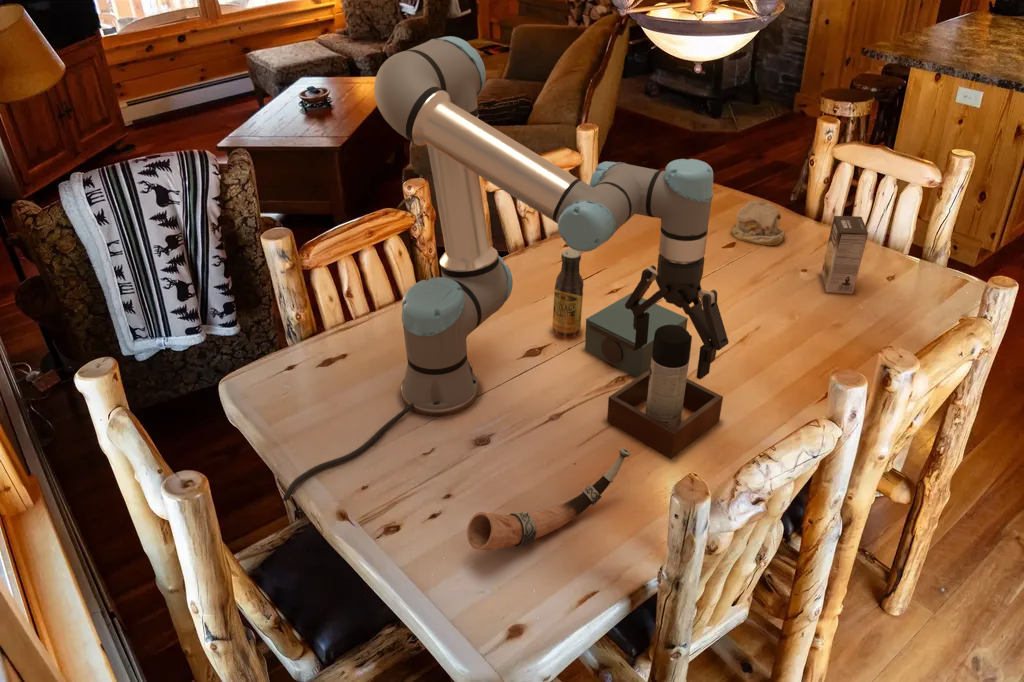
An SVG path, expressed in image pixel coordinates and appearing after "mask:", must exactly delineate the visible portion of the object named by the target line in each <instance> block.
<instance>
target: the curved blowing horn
mask: <svg viewBox="0 0 1024 682" xmlns="http://www.w3.org/2000/svg"><path fill="white" fill-rule="evenodd" d="M618 452H619V456H618V458H617V459H616V460H615V462H614V463H613V464H612V465H611V466H610V468H609V469H608V470H607V471H606V472H604V473H602V476H601V477H600V478H599V479H598V480H597V481H596V482H595V483H593V484H588V486H586V487H585V488H584V489H583V490H581V493H580V494H578V495H577V496H575V497H573V498H572V499H570V500H568V501H566V502H563V503H561V504H558V505H556V506H554V507H551V508H548V509H544V510H541V511H536V512H531V513H529V512H526V511H525V512H524V511H521V512H511V513H510V514H496V513H490V512H485V511H479V512H476V513H475V514H474V515H473V516H472V517H471V518H470V520H469V522H468V525H467V528H466V529H467V530H466V536H467V541H468V543H469V546H470V547H471V548H472V549H474V550H477V551H493V550H499V549H504V548H509V547H516V548H517V547H518V548H519V547H522V546H525V545H528V544H531V543H532V542H534V541H535V540H536V539H538V538H540V537H543V536H545V535H547V534H550V533H552V532H554V531H555V530H558V529H559V528H561V527H563V526H565V525H567V524H568V523H569V522H571V521H573V520H574V519H576V517H578V516H580V515H581V514H582V513H583V512H585V511H586V510H587V509H589V507H590V506H594V505H596V504H597V502H598V501H599V500H600V499H601V498H602V494H603V493H604V492H605V490H607V488H608V487H609V486H610V484H611V483H613V482H614V479H615V477H616V476H617V475H618V473H619V471H620V469H621V467H622V466H623V463H624V460H625V459H626V458H628V457H630V456H631V452H630V450H629V449H627V448H625V447H619V450H618Z"/></svg>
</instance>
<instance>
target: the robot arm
mask: <svg viewBox="0 0 1024 682" xmlns="http://www.w3.org/2000/svg"><path fill="white" fill-rule="evenodd" d="M480 55H481V54H479V53H478V51H477V50H476V49H475V48H474V47H473V46H471V44H470V43H469V42H468V41H466V40H465V39H462V38H460V37H458V36H451V35H449V36H443V37H438V38H432V39H429V40H428V41H425V42H423V43H420V44H419V45H416V46H414V47H412V48H409V49H406V50H404V51H400V52H397V53H395V54H393V55H391V56H390V57H388V58H387V59H386V60H385V61H384V62H383V63H382V64H381V65H380V67H379V69H378V71H377V74H376V76H375V79H374V85H373V91H374V92H373V93H374V100H375V103H376V106H377V109H378V110H379V112H380V114H381V115H382V118H383V119H384V120H385V121H386V122H387V124H388V125H389V126H390V127H391V128H392V129H393V130H394V131H395V132H397V133H398V134H399V135H401V136H402V137H404V138H405V139H406V140H408V141H410V142H411V143H413V144H414V145H416V146H418V147H423V146H427V151H428V157H429V158H428V159H429V165H430V169H431V175H432V181H433V187H434V192H435V198H436V203H437V211H438V216H439V222H440V228H441V232H442V238H443V245H444V250H445V252H444V253H443V254H442V255H441V257H440V258H439V266H440V267H439V268H440V271H441V276H433V277H429V279H428V280H426V279H422V280H420V281H418V282H416V283H414V284H413V285H411V286H410V287H409V288H408V289H407V291H405V293H404V295H403V298H402V301H401V323H402V327H403V334H404V343H405V351H406V359H407V365H406V368H405V373H404V377H403V379H402V382H401V389H400V391H401V398H402V401H403V403H404V404H405V408H403V409H402V410H401V411H399V413H397V414H396V415H395V416H394V417H392V418H391V419H390V420H388V422H386V423H385V424H384V425H383V426H382V427H380V429H378V430H377V431H376V432H375V433H374V434H373V435H372V436H371V437H370V438H369V439H368V440H367V441H365V443H363V444H362V445H361V446H359V447H358V448H357V449H355V450H353V451H351V452H349V453H348V454H345V455H342V456H340V457H337V458H334V459H331V460H328V461H325V462H322V463H319V464H317V465H315V466H313V467H311V468H310V469H308V470H306V471H305V472H303V473H302V474H300V475H299V476H297V477H296V478H295V479H294V480H293V481H292V482H291V483H290V484H289V486H288V488H287V489H286V491H285V493H284V496H283V498H282V501H283V502H287V501H288V500H289V499H290V498H291V495H292V494H293V492H294V490H295V488H296V487H297V486H298V485H299V484H300V483H301V482H302V481H304V480H305V479H307V478H309V477H310V476H312V475H313V474H315V473H318V472H320V471H322V470H324V469H326V468H329V467H333V466H335V465H339V464H342V463H344V462H346V461H349V460H351V459H354V458H355V457H357V456H359V455H360V454H362V453H363V452H364V451H366V450H367V449H368V448H370V446H372V445H373V444H374V443H375V442H376V441H377V440H378V439H379V438H380V437H381V436H382V435H383V434H384V433H385V432H386V431H387V430H388V429H390V428H391V427H392V426H393V425H395V423H397V422H398V421H399V420H401V419H402V418H403V417H404V416H406V414H408V413H409V412H410V411H413V412H415V413H417V414H420V415H423V416H427V417H428V416H429V417H444V416H450V415H454V414H457V413H459V412H462V411H464V410H466V409H467V408H469V407H471V405H472V404H474V403H475V401H476V399H477V398H478V395H479V381H478V377H477V375H476V373H475V371H474V367H473V364H472V361H470V360H469V358H468V345H467V344H468V343H467V338H468V336H469V335H471V333H473V332H474V331H475V330H476V329H477V328H478V327H480V326H481V325H482V324H483V323H484V322H486V321H487V320H488V319H489V318H490V317H491V316H492V315H494V314H496V313H497V312H498V311H499V310H501V308H502V307H503V306H504V305H505V303H506V302H507V301H508V300H509V298H510V296H511V293H512V291H513V284H514V282H513V280H514V279H513V274H512V272H511V269H510V267H509V265H508V264H506V263H504V262H505V260H504V259H503V257H501V256H500V255H499V252H498V250H497V249H496V248H495V247H493V246H492V245H490V243H489V236H488V229H487V222H486V214H485V208H484V207H485V206H484V201H483V194H482V186H481V180H480V179H481V178H482V179H484V180H486V181H487V182H489V183H490V184H492V185H494V186H496V187H497V188H499V190H502V191H503V192H505V193H507V194H509V196H511V197H513V198H515V199H517V200H518V201H520V202H522V203H523V204H525V205H526V206H527V207H530V208H531V209H532V210H534V211H536V212H538V213H539V214H541V215H543V216H544V217H546V218H548V219H549V220H551V221H552V222H554V223H556V224H557V231H558V234H559V236H560V238H561V239H562V240H563V241H564V243H565V245H566V246H567V247H568V248H569V249H574V250H576V251H579V252H580V253H586V252H587V253H588V252H591V251H594V250H595V249H597V248H599V247H600V246H602V245H603V244H605V243H606V242H608V241H609V240H610V239H611V238H612V237H613V236H614V235H615V233H616V232H617V231H618V230H619V229H621V227H622V226H623V225H624V224H627V222H628V221H629V220H630V219H631V218H633V216H635V215H639V216H645V217H649V218H657V219H660V231H659V240H658V241H659V242H658V255H657V267H656V265H650V266H649V267H647V268H645V269H643V270H642V272H641V276H640V280H639V282H638V284H637V285H636V287H635V288H634V289H633V291H632V292H631V293H632V294H631V296H630V297H629V299H628V301H627V302H626V304H625V307H626V309H630V310H632V311H633V315H634V322H633V323H634V324H633V327H634V329H635V330H636V337H635V348H637V349H639V348H641V347H642V346H644V345H645V344H647V340H648V327H649V314H650V313H648V312H645V313H644V311H646V310H647V309H648V308H650V307H651V306H652V305H654V304H657V303H658V302H659V301H660V300H662V299H664V300H665V302H666V303H668V304H671V305H674V306H675V307H677V308H679V309H682V310H683V312H684V314H685V315H687V316H688V318H689V319H690V321H691V323H692V325H693V327H694V329H695V330H696V333H697V334H698V336H699V338H700V340H701V342H702V345H701V346H700V347H699V355H698V362H697V370H696V379H697V380H702V379H703V378H705V377H706V376H707V375H709V374H710V371H711V370H710V369H711V364H712V363H713V362H715V360H716V356H717V351H721V350H722V349H723V348H725V347H726V346H727V345H729V337H728V334H727V331H726V328H725V324H724V322H723V318H722V314H721V311H720V308H719V305H718V292H717V290H716V289H712V290H710V291H708V290H705V289H703V288H702V286H701V285H702V284H701V281H702V278H703V275H704V267H705V255H706V249H707V240H708V230H709V222H710V214H711V207H712V202H713V197H714V191H713V188H714V171H713V168H712V167H711V166H710V164H708V163H707V162H705V161H703V160H700V159H695V158H689V159H686V158H679V159H678V158H677V159H674V160H671V161H670V162H669V163H667V165H666V166H665V170H660V169H654V168H648V167H643V166H638V165H633V164H629V163H626V162H621V161H618V162H615V161H602V162H601V163H599V164H598V165H596V167H595V170H594V172H593V173H592V174H591V177H590V181H589V184H588V183H587V182H585V181H583V180H581V179H579V178H578V177H576V176H574V175H573V174H571V173H569V172H568V171H566V170H564V169H563V168H561V167H560V166H557V165H556V164H554V163H553V162H551V161H550V160H547V159H546V158H544V157H542V156H541V155H540V154H538V153H536V152H534V151H533V150H531V149H530V148H528V147H526V146H524V145H523V144H521V143H519V142H518V141H516V140H515V139H513V138H511V137H510V136H508V135H506V134H505V133H503V132H502V131H500V130H498V129H497V128H494V127H493V126H491V125H490V124H489V123H487V122H484V121H483V120H482V119H479V117H480V114H479V113H480V112H479V104H478V96H480V94H481V93H482V91H483V89H484V88H485V85H486V81H487V73H486V67H485V64H484V60H483V59H482V57H481V56H480ZM653 282H656V285H657V287H658V291H656V292H655V293H653V294H652V295H651V296H650V297H649V298H647V299H646V301H645V302H643V303H642V304H641V305H640V304H639V302H640V300H641V299H642V298H644V296H645V294H646V292H648V290H649V288H650V287H651V286H652V284H653ZM692 303H693V305H691V304H692Z"/></svg>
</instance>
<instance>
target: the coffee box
mask: <svg viewBox="0 0 1024 682" xmlns="http://www.w3.org/2000/svg"><path fill="white" fill-rule="evenodd" d="M868 237H869V232H868V229H867V227H866V224H865V222H864V220H863V217H862V216H856V215H855V216H854V215H834V216H833V218H832V223H831V228H830V232H829V237H828V240H827V241H828V242H827V246H826V250H825V255H824V259H823V265H822V269H821V275H820V276H821V278H822V282H823V286H824V289H825V291H826V293H829V294H830V293H831V294H833V293H834V294H847V295H848V294H849V295H850V294H851V295H853V294H854V290H855V286H856V283H857V278H858V275H859V270H860V267H861V263H862V259H863V256H864V251H865V248H866V245H867V240H868Z"/></svg>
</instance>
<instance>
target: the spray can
mask: <svg viewBox="0 0 1024 682" xmlns="http://www.w3.org/2000/svg"><path fill="white" fill-rule="evenodd" d="M692 340H693V336H692V335H691V334H690V332H689V330H687V329H686V330H685V329H684V328H683V327H682V326H678V325H664V326H661V327H659V328H658V329H657V330H656V331H655V335H654V343H653V351H652V359H651V366H650V377H649V387H648V396H647V399H646V404H645V405H646V406H645V408H646V409H645V414H647V415H649V416H651V417H652V418H654V419H656V420H658V421H660V422H661V423H663V424H665V425H667V426H668V427H670V428H672V429H674V428H675V427H676V426H678V425H679V424H680V423H682V414H683V409H684V406H683V401H684V394H685V387H686V380H687V379H688V372H689V364H690V357H691V349H692Z"/></svg>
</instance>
